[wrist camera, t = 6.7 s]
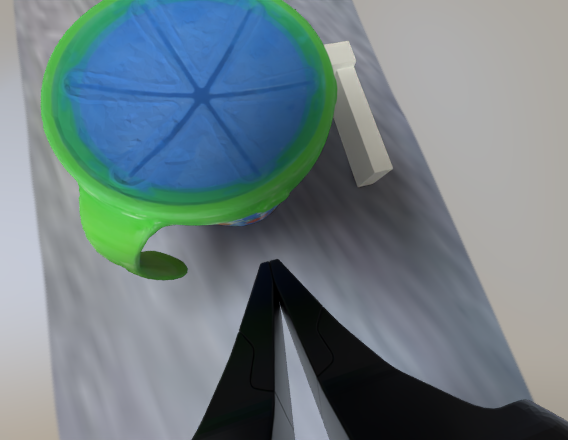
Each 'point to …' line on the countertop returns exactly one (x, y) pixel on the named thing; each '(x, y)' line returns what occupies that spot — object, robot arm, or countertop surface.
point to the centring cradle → (356, 119)
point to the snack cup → (184, 117)
